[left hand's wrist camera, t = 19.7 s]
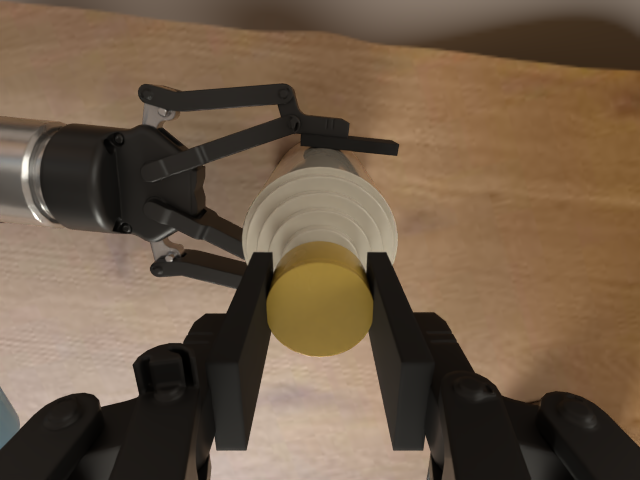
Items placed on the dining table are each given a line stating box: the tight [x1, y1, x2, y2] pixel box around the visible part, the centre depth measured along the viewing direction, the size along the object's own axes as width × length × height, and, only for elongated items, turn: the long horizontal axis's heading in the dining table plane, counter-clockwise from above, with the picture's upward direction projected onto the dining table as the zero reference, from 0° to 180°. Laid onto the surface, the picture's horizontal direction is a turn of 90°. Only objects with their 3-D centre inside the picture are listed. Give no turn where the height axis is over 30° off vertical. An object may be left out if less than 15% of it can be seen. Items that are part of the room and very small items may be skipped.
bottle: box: [242, 142, 398, 271], centre depth 23 cm, size 8×8×21 cm
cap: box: [266, 241, 373, 357], centre depth 14 cm, size 4×4×2 cm
